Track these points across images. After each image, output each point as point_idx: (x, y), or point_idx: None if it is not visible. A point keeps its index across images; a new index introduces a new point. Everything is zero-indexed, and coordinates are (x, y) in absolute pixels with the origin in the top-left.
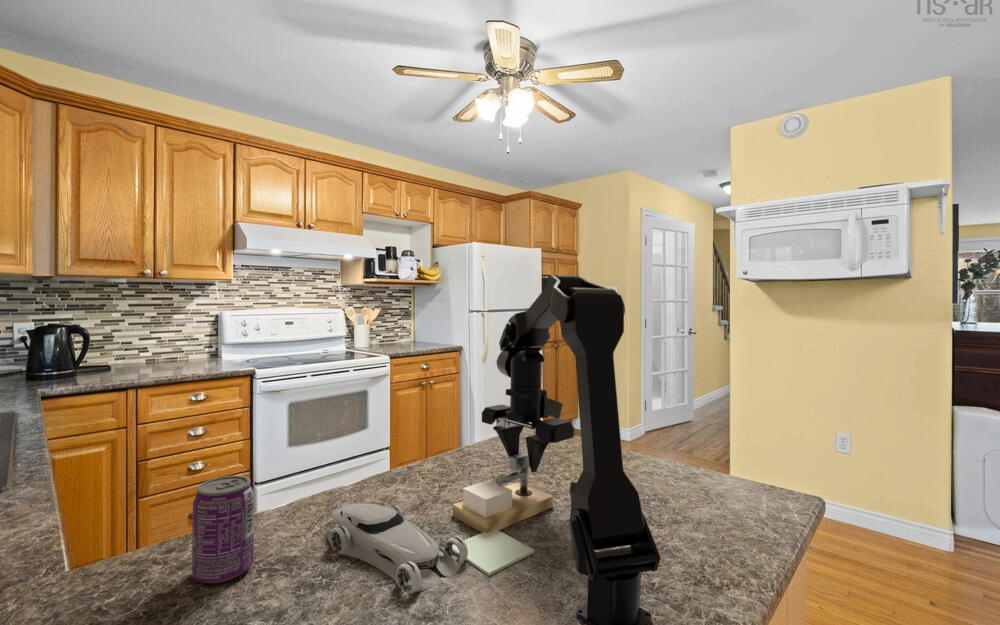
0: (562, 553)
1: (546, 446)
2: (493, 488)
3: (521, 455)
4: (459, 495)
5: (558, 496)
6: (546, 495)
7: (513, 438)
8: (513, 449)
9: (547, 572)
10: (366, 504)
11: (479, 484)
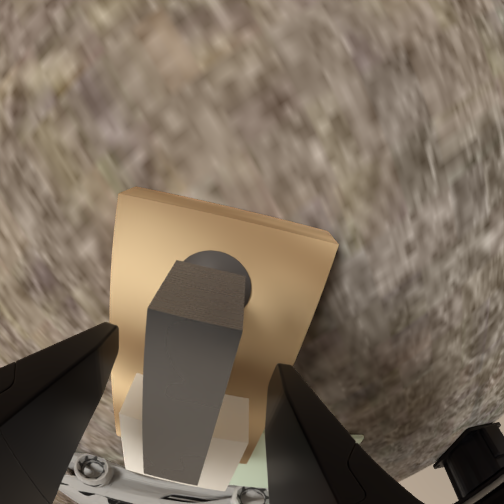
0: (411, 408)
1: (404, 492)
2: None
3: (179, 448)
4: (41, 322)
5: (302, 118)
6: (312, 254)
7: (28, 471)
8: (73, 417)
9: (394, 448)
10: (74, 495)
11: (131, 445)
